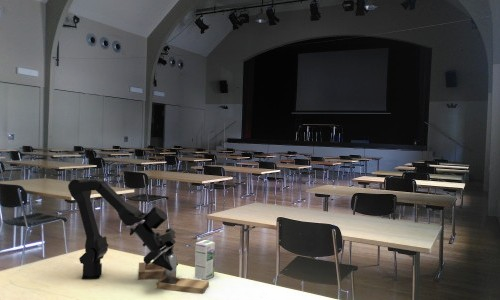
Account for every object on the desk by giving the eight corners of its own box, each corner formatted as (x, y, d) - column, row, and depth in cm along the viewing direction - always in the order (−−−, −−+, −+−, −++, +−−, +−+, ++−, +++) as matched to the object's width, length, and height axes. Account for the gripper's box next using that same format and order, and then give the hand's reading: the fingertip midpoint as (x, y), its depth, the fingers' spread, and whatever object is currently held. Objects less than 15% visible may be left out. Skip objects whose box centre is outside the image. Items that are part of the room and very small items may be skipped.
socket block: (138, 279, 165) (138, 272, 165) (138, 269, 177) (138, 262, 176) (169, 278, 168) (169, 271, 168) (167, 268, 179) (167, 261, 179)
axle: (165, 288, 158) (166, 256, 157) (164, 284, 162) (166, 253, 161) (176, 287, 159) (177, 256, 158) (175, 283, 163) (176, 253, 162)
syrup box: (205, 280, 167) (207, 244, 167) (194, 277, 170) (195, 241, 170) (214, 276, 172) (215, 241, 171) (202, 273, 175) (204, 239, 175)
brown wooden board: (156, 288, 157) (156, 283, 157) (164, 281, 165) (164, 275, 165) (202, 293, 154) (202, 288, 153) (208, 286, 161) (208, 281, 161)
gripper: (152, 228, 151) (180, 261, 149) (172, 218, 169) (197, 248, 167) (131, 247, 152) (159, 281, 151) (153, 235, 171) (177, 265, 169)
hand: (174, 267), depth 160 cm, fingers open, 5 cm apart
